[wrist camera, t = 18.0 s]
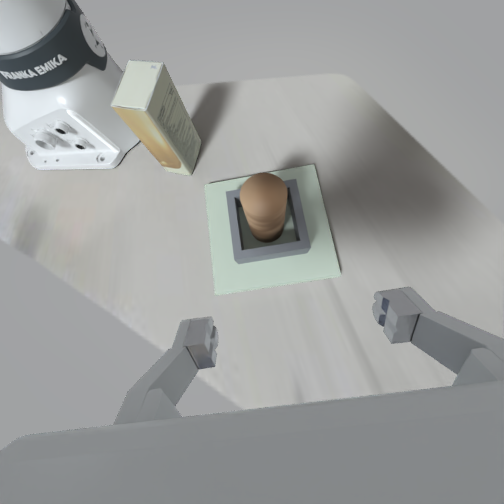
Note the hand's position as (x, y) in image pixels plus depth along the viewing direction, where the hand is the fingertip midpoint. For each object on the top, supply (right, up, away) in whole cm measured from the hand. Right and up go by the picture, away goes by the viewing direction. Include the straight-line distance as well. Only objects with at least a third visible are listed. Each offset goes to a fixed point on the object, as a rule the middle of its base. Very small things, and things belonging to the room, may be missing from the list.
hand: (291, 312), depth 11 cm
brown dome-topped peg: (0, +6, +18) cm, 19 cm away
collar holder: (0, +6, +19) cm, 20 cm away
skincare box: (-13, +18, +24) cm, 32 cm away
